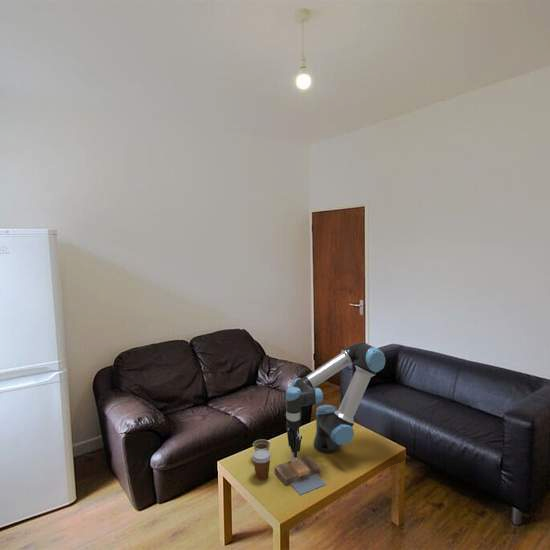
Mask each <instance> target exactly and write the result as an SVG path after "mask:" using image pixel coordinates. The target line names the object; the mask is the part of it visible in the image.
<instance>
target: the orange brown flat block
mask: <svg viewBox="0 0 550 550" xmlns="http://www.w3.org/2000/svg"><path fill="white" fill-rule="evenodd" d="M290 467H291V468H292V470H293V471H294V472H295V473H296V474H297V475H298V476H299V477H300V476H303V475H306V474H308V473H309V468H308V467H307V466H306V465H305V464H304V463H303V462H302V461H301V460H298V461H295V462H292V463H290Z"/></svg>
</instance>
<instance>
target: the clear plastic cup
mask: <svg viewBox="0 0 550 550" xmlns="http://www.w3.org/2000/svg"><path fill="white" fill-rule="evenodd" d="M252 447H253V449H254V452H255V451H256V450H259V449H266V450H268V451H269V449H270V447H271V442H270V441H269V440H267V439H257V440H255V441H253V443H252ZM269 452H270V451H269Z"/></svg>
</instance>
